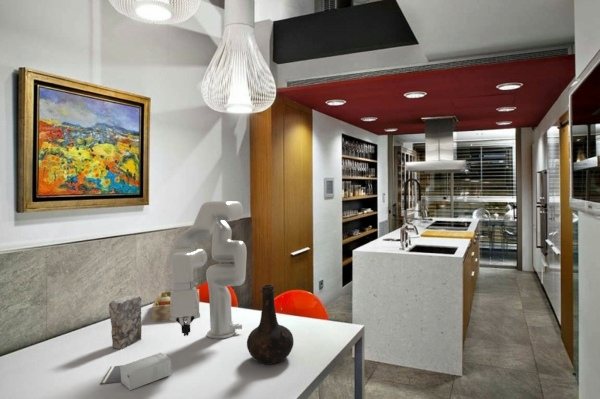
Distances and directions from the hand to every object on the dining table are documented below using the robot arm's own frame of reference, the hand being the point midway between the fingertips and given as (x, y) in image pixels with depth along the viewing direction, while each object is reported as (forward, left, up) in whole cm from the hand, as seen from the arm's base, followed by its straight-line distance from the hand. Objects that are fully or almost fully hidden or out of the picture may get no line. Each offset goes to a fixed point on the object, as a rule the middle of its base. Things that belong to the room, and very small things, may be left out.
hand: (186, 334), depth 152 cm
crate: (+10, -78, -12) cm, 79 cm away
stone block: (+27, -32, -12) cm, 43 cm away
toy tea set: (+10, -78, -11) cm, 79 cm away
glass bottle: (-31, +2, -12) cm, 33 cm away
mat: (+19, 0, -12) cm, 23 cm away
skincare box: (+7, +4, -8) cm, 11 cm away
